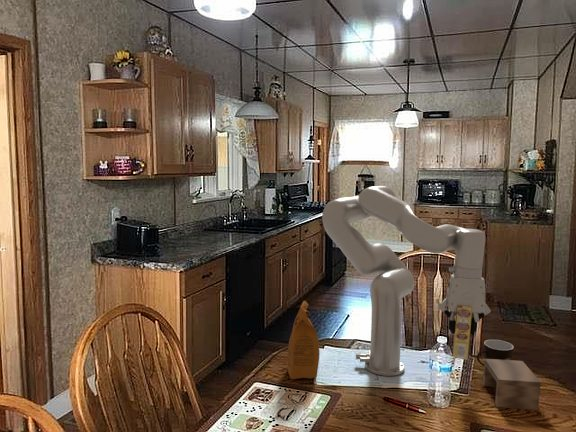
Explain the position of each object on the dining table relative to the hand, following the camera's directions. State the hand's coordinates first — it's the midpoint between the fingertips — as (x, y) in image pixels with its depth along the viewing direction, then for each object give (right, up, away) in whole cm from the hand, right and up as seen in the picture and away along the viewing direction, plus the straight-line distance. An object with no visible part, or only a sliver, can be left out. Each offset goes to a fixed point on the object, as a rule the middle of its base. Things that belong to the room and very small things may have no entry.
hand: (461, 332), depth 146 cm
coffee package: (-46, -16, +13) cm, 50 cm away
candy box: (0, -7, +1) cm, 7 cm away
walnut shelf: (+14, -18, 0) cm, 23 cm away
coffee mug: (+14, -17, +14) cm, 26 cm away
